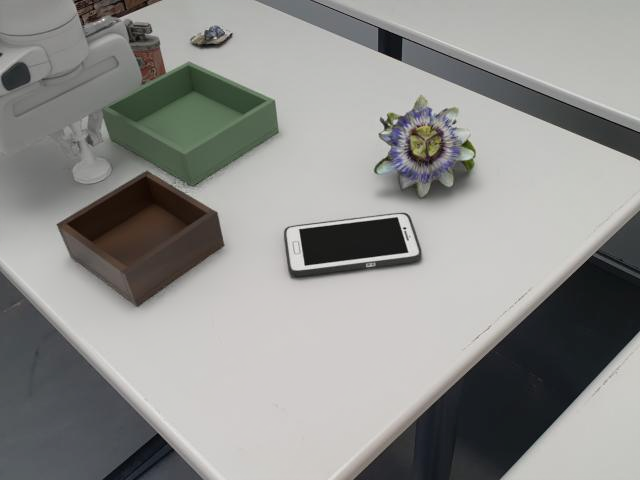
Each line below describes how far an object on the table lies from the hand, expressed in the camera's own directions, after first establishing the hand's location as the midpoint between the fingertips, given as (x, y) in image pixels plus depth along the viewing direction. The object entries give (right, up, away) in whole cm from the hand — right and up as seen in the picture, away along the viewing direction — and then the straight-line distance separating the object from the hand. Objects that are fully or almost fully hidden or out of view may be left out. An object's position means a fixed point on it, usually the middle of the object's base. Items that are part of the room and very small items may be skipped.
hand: (83, 149), depth 88 cm
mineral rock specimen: (+12, +25, +27) cm, 39 cm away
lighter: (+3, +14, +17) cm, 22 cm away
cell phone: (+34, -14, -10) cm, 38 cm away
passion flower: (+43, -4, -1) cm, 43 cm away
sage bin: (+13, +4, +7) cm, 15 cm away
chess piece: (0, -2, +3) cm, 4 cm away
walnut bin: (+10, -14, -8) cm, 19 cm away
